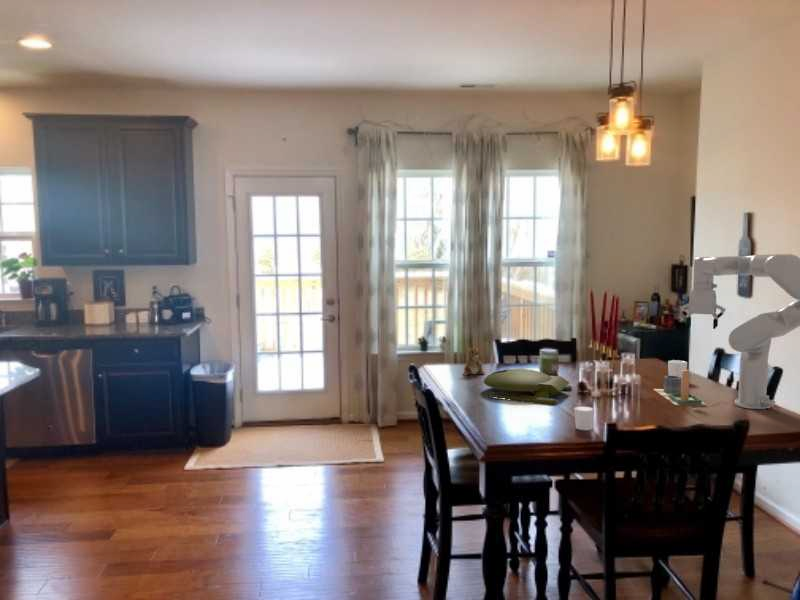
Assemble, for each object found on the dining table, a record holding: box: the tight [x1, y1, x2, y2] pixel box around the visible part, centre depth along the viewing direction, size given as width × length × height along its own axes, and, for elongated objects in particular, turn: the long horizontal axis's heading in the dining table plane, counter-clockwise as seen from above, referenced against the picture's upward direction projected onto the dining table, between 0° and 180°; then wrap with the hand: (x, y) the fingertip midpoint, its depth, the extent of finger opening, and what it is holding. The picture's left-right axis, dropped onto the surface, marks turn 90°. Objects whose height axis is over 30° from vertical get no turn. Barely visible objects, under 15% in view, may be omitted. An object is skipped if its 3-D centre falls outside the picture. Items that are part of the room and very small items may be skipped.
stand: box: [653, 375, 708, 408], centre depth 261 cm, size 26×12×8 cm, turn 177°
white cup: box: [667, 359, 688, 378], centre depth 287 cm, size 8×8×10 cm
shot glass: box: [573, 405, 595, 431], centre depth 224 cm, size 7×7×7 cm
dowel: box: [681, 369, 690, 400], centre depth 254 cm, size 3×3×12 cm
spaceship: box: [483, 368, 573, 406], centre depth 275 cm, size 35×31×10 cm
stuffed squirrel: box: [463, 347, 486, 376], centre depth 316 cm, size 10×14×13 cm
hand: (701, 327), depth 265 cm, fingers open, 9 cm apart
